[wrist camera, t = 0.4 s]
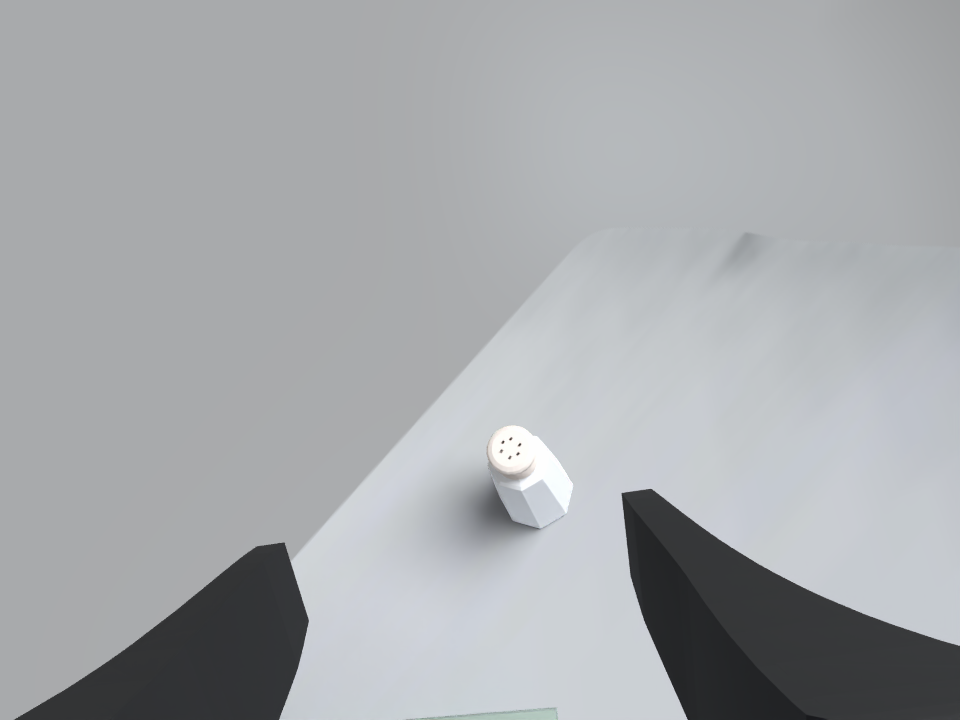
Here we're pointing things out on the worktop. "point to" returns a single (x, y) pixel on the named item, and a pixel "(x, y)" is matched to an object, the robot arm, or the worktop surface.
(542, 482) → the pepper shaker
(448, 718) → the ridge stand
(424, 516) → the worktop surface
